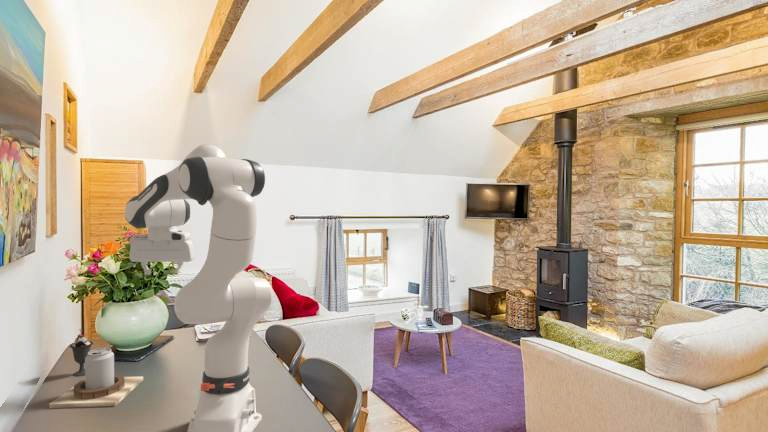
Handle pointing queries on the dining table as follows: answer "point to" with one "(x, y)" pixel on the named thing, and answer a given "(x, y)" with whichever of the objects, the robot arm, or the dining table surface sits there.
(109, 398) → the ring board
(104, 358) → the can
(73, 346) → the sundae
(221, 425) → the robot arm
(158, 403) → the dining table surface
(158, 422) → the dining table surface
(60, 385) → the dining table surface
